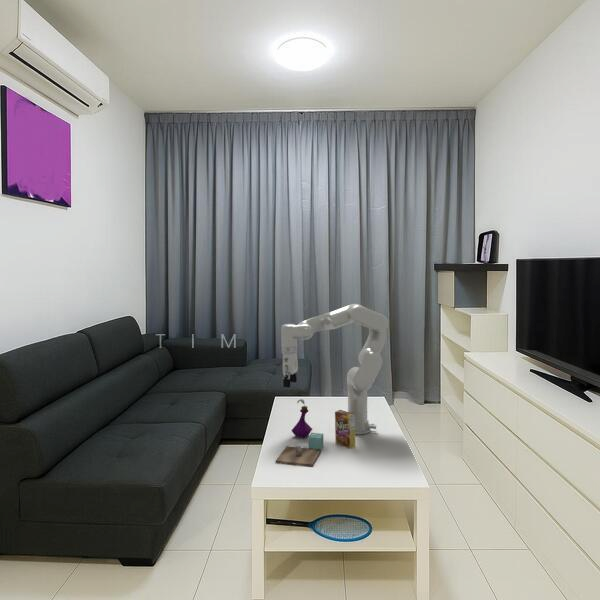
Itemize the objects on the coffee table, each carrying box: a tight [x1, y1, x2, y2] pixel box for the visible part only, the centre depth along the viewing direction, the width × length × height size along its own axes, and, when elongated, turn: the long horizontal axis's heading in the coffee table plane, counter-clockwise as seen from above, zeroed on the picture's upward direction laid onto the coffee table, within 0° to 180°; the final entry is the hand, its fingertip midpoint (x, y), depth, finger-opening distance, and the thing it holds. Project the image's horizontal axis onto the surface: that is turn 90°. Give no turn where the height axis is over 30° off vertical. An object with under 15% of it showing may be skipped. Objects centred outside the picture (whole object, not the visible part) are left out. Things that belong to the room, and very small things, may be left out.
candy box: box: [334, 409, 356, 449], centre depth 210 cm, size 9×4×15 cm, turn 45°
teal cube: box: [307, 432, 325, 451], centre depth 206 cm, size 6×6×6 cm
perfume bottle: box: [291, 398, 313, 439], centre depth 221 cm, size 8×8×18 cm
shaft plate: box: [274, 445, 322, 468], centre depth 197 cm, size 16×16×4 cm
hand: (290, 384), depth 223 cm, fingers open, 9 cm apart
